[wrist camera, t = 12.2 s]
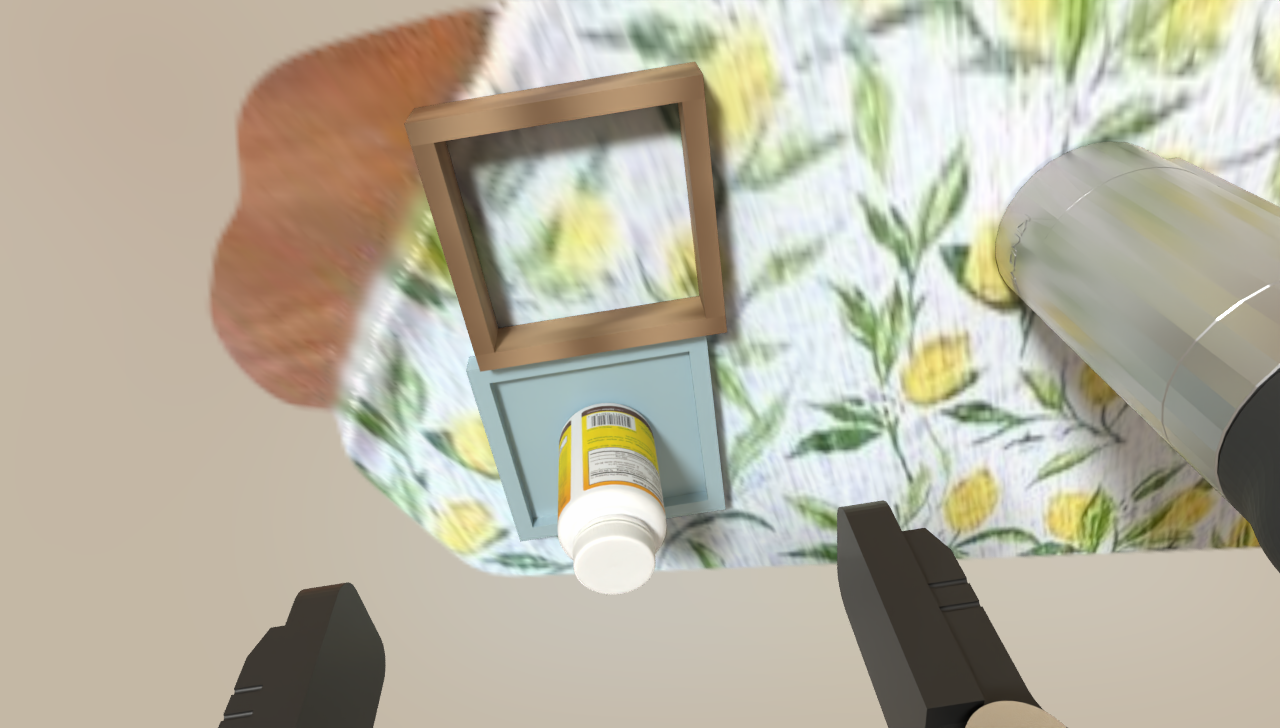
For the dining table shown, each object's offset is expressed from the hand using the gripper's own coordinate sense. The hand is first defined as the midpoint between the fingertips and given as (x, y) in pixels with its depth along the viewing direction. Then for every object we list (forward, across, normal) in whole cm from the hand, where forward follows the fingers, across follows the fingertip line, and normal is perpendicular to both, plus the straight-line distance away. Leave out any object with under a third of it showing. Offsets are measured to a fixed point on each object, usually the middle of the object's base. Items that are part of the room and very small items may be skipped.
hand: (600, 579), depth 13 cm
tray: (+28, +2, +18) cm, 34 cm away
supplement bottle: (+28, +2, +18) cm, 33 cm away
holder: (+28, +1, +5) cm, 29 cm away
